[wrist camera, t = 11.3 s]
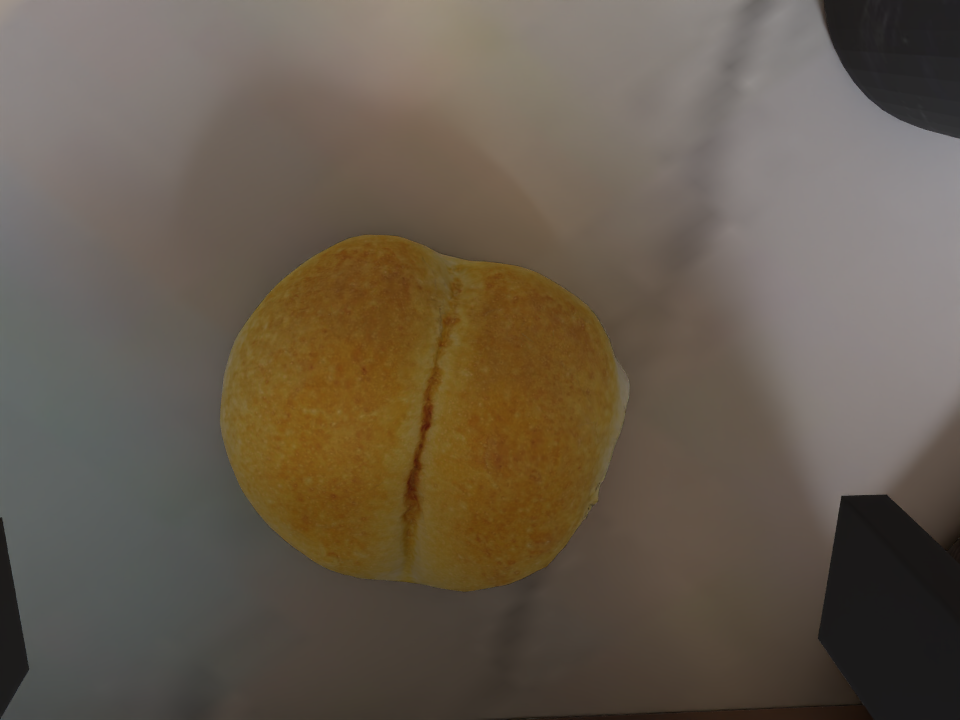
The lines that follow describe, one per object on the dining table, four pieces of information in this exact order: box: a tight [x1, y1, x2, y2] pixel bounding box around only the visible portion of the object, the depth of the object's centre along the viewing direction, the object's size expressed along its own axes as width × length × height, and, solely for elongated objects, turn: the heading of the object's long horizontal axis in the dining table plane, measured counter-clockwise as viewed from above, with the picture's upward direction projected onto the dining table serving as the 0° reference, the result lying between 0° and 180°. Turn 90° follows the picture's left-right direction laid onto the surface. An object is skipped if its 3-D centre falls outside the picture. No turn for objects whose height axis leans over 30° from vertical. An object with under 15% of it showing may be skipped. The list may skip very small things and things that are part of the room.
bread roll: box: [220, 235, 630, 592], centre depth 21 cm, size 8×9×4 cm
